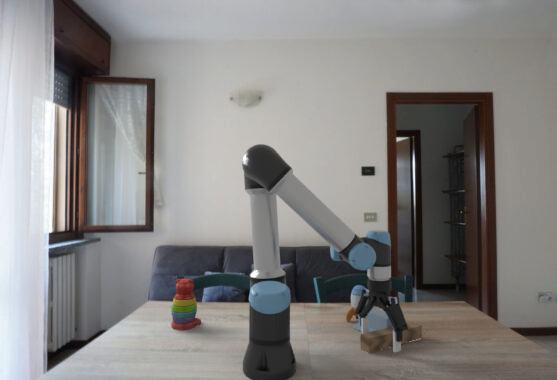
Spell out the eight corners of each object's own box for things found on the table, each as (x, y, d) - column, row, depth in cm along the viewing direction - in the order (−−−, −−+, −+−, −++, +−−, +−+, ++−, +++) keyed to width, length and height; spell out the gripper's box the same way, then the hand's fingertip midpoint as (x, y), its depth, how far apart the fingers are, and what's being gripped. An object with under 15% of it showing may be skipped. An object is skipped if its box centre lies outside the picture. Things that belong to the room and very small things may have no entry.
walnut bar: (369, 354, 112) (369, 338, 112) (360, 349, 115) (360, 334, 116) (421, 340, 123) (421, 325, 124) (412, 336, 127) (412, 322, 127)
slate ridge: (381, 340, 122) (381, 320, 122) (353, 328, 134) (353, 309, 134) (401, 335, 127) (401, 315, 127) (372, 323, 139) (372, 305, 139)
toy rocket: (377, 326, 139) (373, 290, 137) (352, 333, 137) (347, 296, 135) (365, 314, 149) (361, 280, 147) (341, 320, 147) (337, 286, 144)
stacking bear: (202, 321, 140) (202, 276, 141) (193, 331, 130) (194, 281, 131) (175, 320, 141) (176, 275, 142) (165, 329, 131) (165, 281, 132)
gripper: (419, 284, 108) (420, 355, 108) (360, 270, 130) (361, 329, 129) (402, 287, 104) (403, 361, 104) (344, 272, 126) (345, 333, 125)
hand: (380, 343), depth 116 cm, fingers open, 13 cm apart
